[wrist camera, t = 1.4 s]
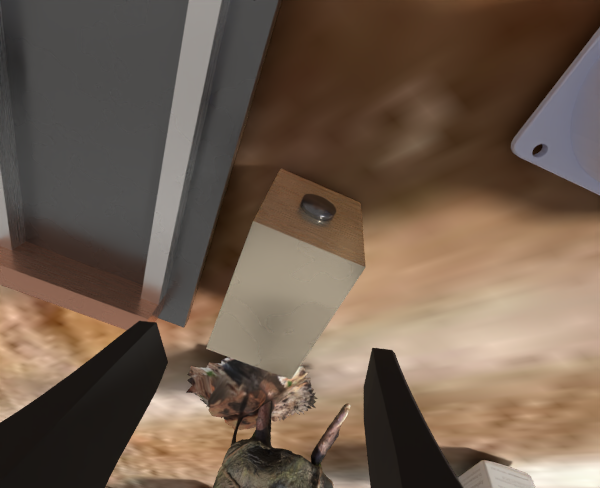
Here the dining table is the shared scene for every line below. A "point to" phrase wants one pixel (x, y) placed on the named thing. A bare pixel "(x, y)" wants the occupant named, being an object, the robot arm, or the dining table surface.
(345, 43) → the dining table surface
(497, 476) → the skincare box
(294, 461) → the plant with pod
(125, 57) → the rail guide
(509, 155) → the dining table surface
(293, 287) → the block
